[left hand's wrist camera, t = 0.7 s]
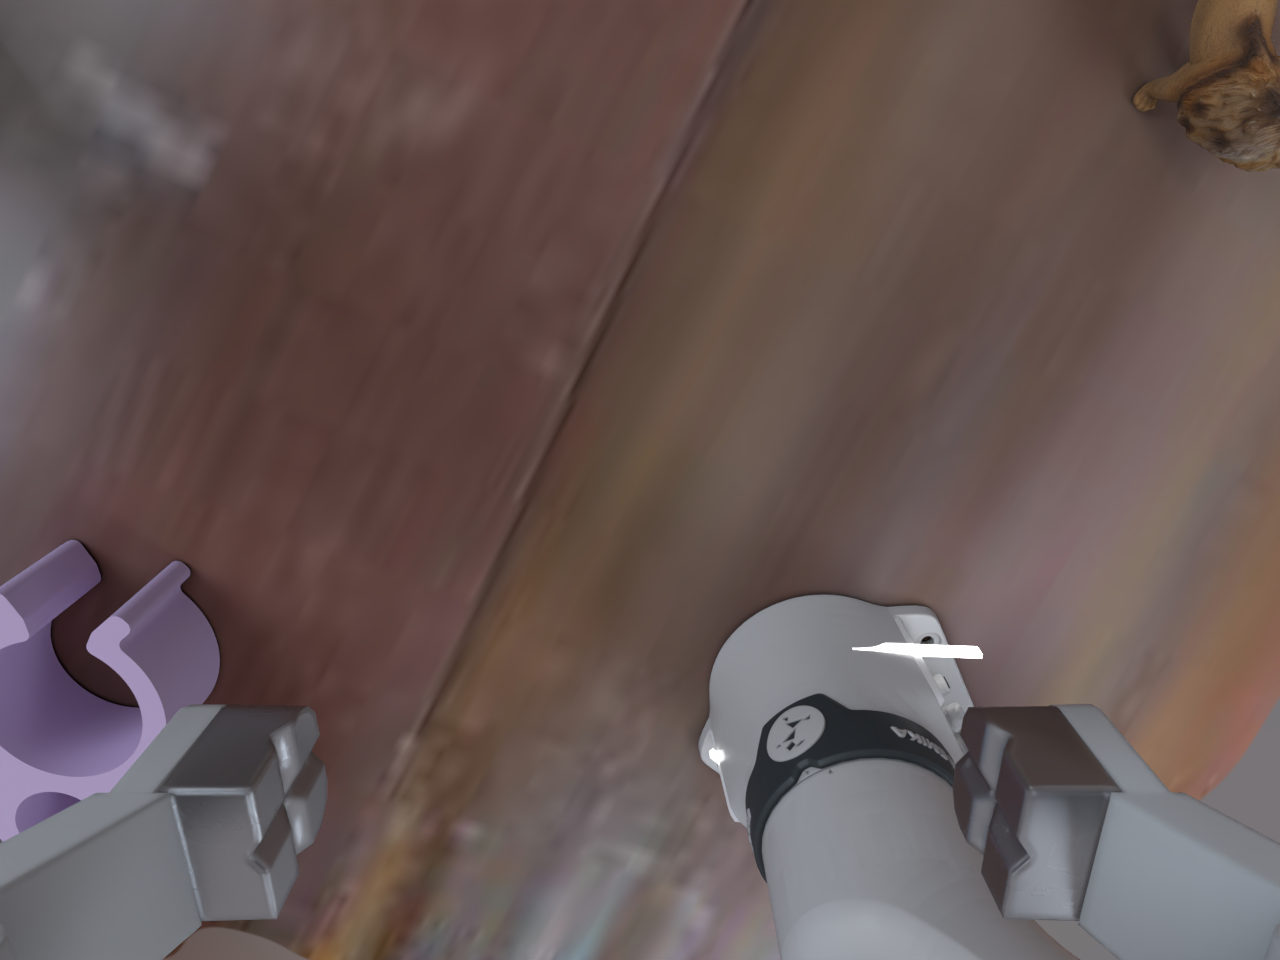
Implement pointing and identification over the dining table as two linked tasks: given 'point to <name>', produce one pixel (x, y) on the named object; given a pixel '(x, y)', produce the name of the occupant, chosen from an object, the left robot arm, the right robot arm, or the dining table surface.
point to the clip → (68, 714)
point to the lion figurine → (1227, 84)
